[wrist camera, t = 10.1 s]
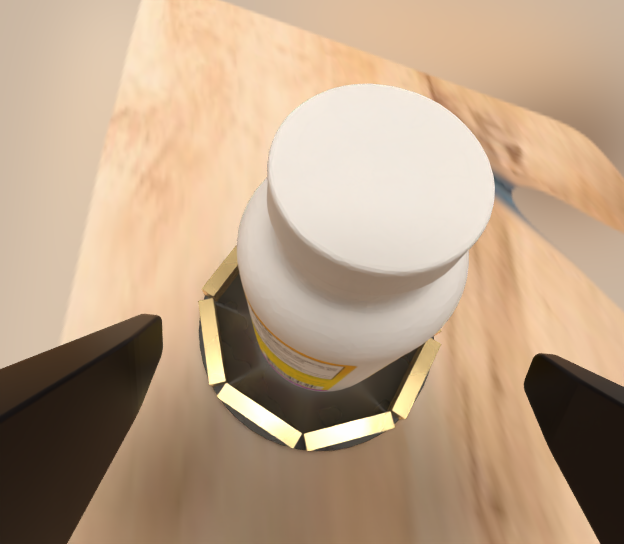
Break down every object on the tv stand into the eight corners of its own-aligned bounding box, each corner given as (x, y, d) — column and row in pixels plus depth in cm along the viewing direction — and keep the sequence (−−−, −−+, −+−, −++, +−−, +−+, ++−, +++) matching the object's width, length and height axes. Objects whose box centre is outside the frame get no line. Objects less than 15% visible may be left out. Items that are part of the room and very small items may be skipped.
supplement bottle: (367, 256, 21) (479, 39, 9) (401, 378, 19) (609, 292, 7) (245, 276, 20) (200, 60, 8) (266, 406, 18) (243, 363, 6)
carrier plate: (460, 415, 19) (479, 414, 18) (221, 480, 17) (214, 486, 16) (388, 213, 24) (397, 195, 22) (189, 247, 22) (181, 230, 20)
